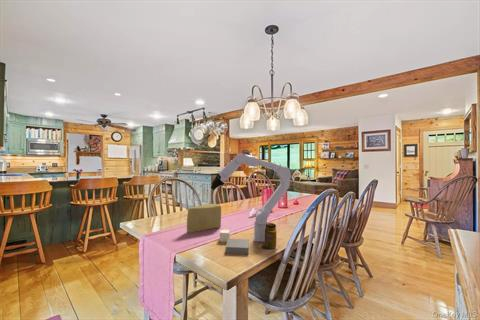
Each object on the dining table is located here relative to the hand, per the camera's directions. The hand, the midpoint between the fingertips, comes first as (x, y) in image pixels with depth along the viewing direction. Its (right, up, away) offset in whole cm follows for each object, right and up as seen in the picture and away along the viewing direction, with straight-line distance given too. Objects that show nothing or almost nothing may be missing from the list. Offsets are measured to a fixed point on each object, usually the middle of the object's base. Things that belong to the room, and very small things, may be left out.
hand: (212, 186), depth 126 cm
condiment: (+31, -30, -12) cm, 45 cm away
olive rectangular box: (-8, -29, +15) cm, 34 cm away
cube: (+7, -29, -2) cm, 30 cm away
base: (+15, -30, -14) cm, 36 cm away
